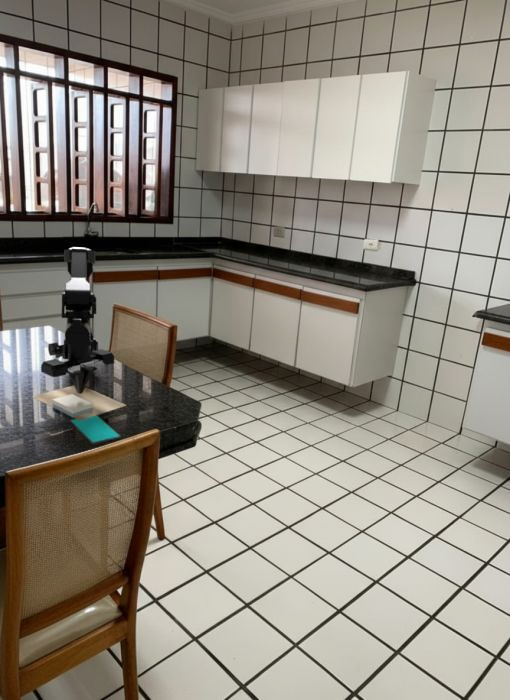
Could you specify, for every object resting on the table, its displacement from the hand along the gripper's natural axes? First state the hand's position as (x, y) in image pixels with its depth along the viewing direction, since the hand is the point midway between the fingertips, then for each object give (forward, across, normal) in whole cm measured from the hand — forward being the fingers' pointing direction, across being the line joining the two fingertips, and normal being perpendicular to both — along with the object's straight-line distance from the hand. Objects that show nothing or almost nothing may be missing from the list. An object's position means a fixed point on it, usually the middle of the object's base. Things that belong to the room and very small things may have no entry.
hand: (79, 393), depth 142 cm
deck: (+3, -1, 0) cm, 3 cm away
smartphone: (+5, +5, +13) cm, 15 cm away
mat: (+4, -2, -4) cm, 7 cm away
